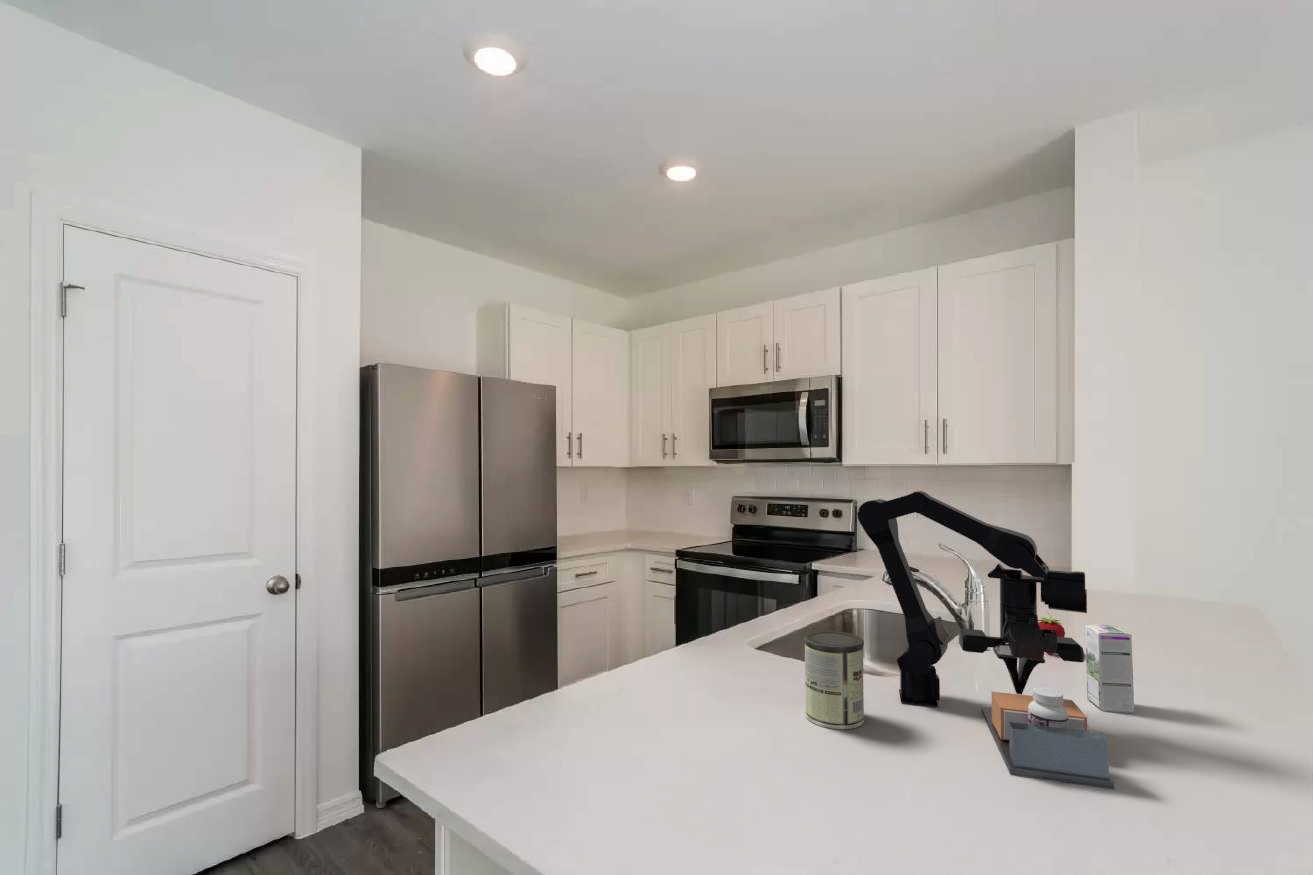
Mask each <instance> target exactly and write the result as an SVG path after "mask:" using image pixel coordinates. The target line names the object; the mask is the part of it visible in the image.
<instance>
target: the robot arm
mask: <svg viewBox="0 0 1313 875" xmlns="http://www.w3.org/2000/svg"><path fill="white" fill-rule="evenodd" d="M914 513H917V514H919V515H922V516H923V517H925V518H928V519H929V520H932V521H933V522H934V523H937V524H939V525H941V526H943V527H945V528H947V529H949V530H951V531H953V532H955V533H956V534H959V535H961V536H964V537H965V538H967V539H969V540H971V541H973V542H975V543H976V544H978V545H979V546H980V547H982V548H983V549H984V550H985V551H987V553H989V554H990V555H991V556H992V557H994V558H996V560H998V561H1000V562H1001V563H1002V564H1003V565H1005V566H1007V567H1008V568H1005V567H1004V566H1003V565H1002V564H1001V563H997V564H996V565H995V567H994V568H993V569H992V570H990V571H989V572H988V573H987V577H988V578H989V579H997V580H998V579H999V635H1000V636H989V635H986V633H985V632H984V631H983V630H982V629H971V628H962V629H960V631H959V632H958V644H959V646H960V647H961V649H962V651H963V652H966V653H967V652H969V653H977V654H978V653H979V654H984V653H985V652H986V651H987V650H988V648H992V651H993V653H994V655H995V656H996V657H997V659H999V660H1002V661H1003V663H1004V665H1005V667H1006V669H1007V671H1008V674H1009V678H1010V680H1011V683H1012V685H1013V688H1014V691H1015V694H1020V695H1023V692H1024V690H1025V688H1026V686H1027V683H1028V680H1029V678H1030V676H1031V674H1032V672H1033V670H1034V669H1035V668H1036V666H1038V665H1039V664H1045V663H1046V659H1045V658H1044V657H1045V653H1046V652H1047V653H1053V654H1057V656H1058V657H1059V658H1060V659H1061V660H1062V661H1063V662H1071V663H1073V662H1074V663H1084V662H1085V652H1084V648H1083V646H1081V644H1079V643H1078V642H1077V641H1076V640H1074V638H1072V637H1067V636H1066V637H1065V636H1064V637H1057V633H1056V631H1055V630H1050V629H1040V627H1039V625H1038V622H1039V621H1038V620H1039V619H1038V606H1037V605H1038V601H1037V599H1038V598H1037V597H1038V596H1037V594H1038V593H1037V592H1038V590H1037V588H1038V587H1037V583H1040V602H1041V603H1044V605H1046V606H1048V607H1047V608H1048V609H1049V610H1056V611H1063V612H1064V611H1065V612H1074V613H1081V614H1082V613H1084V614H1087V613H1088V611H1087V610H1088V599H1087V598H1088V597H1087V596H1088V594H1087V591H1088V590H1087V589H1086V573H1085V571H1076V570H1075V571H1066V570H1065V571H1064V570H1063V571H1062V570H1053V569H1052V570H1051V569H1050V568H1049V566H1048V565H1047V563H1045V561H1044V560H1043V559H1042V558H1041V556H1039V554H1038V546H1037V544H1036V542H1035V540H1034V539H1033V538H1032V537H1031V536H1030V535H1028V534H1025V533H1022V532H1019V531H1015V530H1012V529H1009V528H1005V527H1001V526H998V525H993V524H990V523H987V522H985V521H983V520H981V519H978V518H976V517H975V516H972V515H970V514H968V513H966V512H964V511H963V510H960V509H958V508H956V507H954V506H951V504H948V503H946V502H944V501H942V500H940V499H937V498H935V497H933V496H932V495H930V494H928V493H927V492H925V491H922V490H918V491H917V490H916V491H913V492H910V493H909V494H907V495H904V496H899V497H897V498H893V499H888V500H886V499H882V498H881V499H880V498H879V499H872V500H867V501H865V502H863V503H862V504H860V506H859V508H858V511H857V513H856V514H857V516H856V517H857V520H858V522H859V524H860V525H861V527H862V529H863V530H864V532H865V534H866V535H867V537H868V538H869V539H870V540H871V541H872V543H873V544H874V545H875V547H876V548H877V550H878V552H879V556H880V558H881V560H882V562H883V565H884V568H885V570H886V573H887V576H888V578H889V581H890V583H891V585H892V587H893V591H894V593H895V596H896V599H897V601H898V604H899V606H900V608H901V609H900V610H901V611H902V614H903V617H904V622H905V624H904V626H905V636H906V641H907V646H908V647H907V648H906V649H905V650H904V651H903V652H902V654H901V655H899V656H898V658H897V659H896V662H897V665H898V668H899V690H898V693H899V700H900V703H902V704H908V705H909V704H910V705H919V706H927V707H934V708H935V707H936V708H937V707H938V706H939V703H938V702H939V701H940V700H941V696H940V695H941V694H940V692H941V691H940V690H941V688H940V687H941V686H940V682H941V681H940V679H941V678H940V676H939V674H937V670H936V667H935V666H934V665H936V664H937V663H938V662H939V661H940V660H941V659H942V657H943V656H944V654H946V652H947V649H948V645H949V644H948V639H949V638H950V635H949V633H947V631H946V629H945V626H944V623H943V619H942V617H941V616H937V617H935V618H934V617H933V615H931V613H930V612H929V611H928V609H927V606H926V605H925V603H924V600H923V597H922V594H921V592H920V590H919V587H918V584H917V582H916V579H915V577H914V574H913V572H912V569H911V568H910V565H909V563H908V562H909V561H908V559H907V557H906V555H905V553H904V550H903V547H902V545H901V542H900V537H899V525H898V524H899V523H898V520H897V518H900V517H903V516H907V515H911V514H914ZM1023 571H1024V572H1025V573H1026V574H1028V575H1025V574H1023ZM1047 653H1046V654H1047Z"/></svg>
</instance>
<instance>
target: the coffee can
mask: <svg viewBox="0 0 1313 875" xmlns="http://www.w3.org/2000/svg"><path fill="white" fill-rule="evenodd" d="M803 641H804V685H805V687H804V688H805V689H804V690H805V691H804V692H805V693H804V696H805V712H804V715H805V718H806V719H807V720H808V721H809V722H811V723H812V724H814V725H816V726H819V727H822V728H825V729H832V730H852V729H856V728H859V727H861V726H862V725H863V724H864V723H865V718H864V717H865V714H864V712H865V710H864V709H865V707H864V705H865V702H864V699H865V698H864V645H865V642H864V639H863V638H862V637H860V636H858V635H856V634H854V633H850V632H845V631H837V630H817V631H812V632H808V633H806V634H804V636H803Z"/></svg>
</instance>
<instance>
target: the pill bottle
mask: <svg viewBox="0 0 1313 875" xmlns="http://www.w3.org/2000/svg"><path fill="white" fill-rule="evenodd" d="M1032 696H1033V699H1034V701H1032V702H1030V704H1029V705H1028V724H1030V725H1039V726H1047V727H1056V728H1064V729H1069V715H1068V711H1067V710H1066V709H1065V708H1064V707H1063V706H1062V704H1063V699H1064V694H1063V692H1061V691H1060V690H1057V689H1054V688H1050V687H1041V686H1040V687H1034V688H1032Z"/></svg>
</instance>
